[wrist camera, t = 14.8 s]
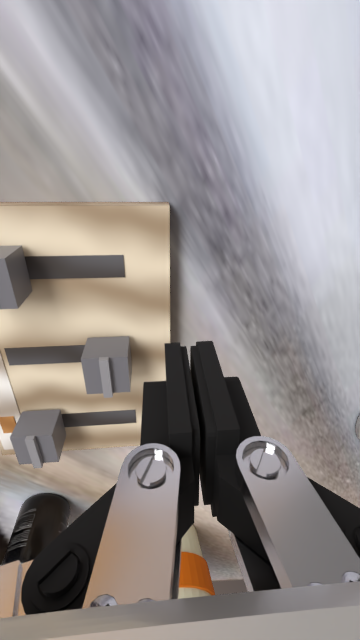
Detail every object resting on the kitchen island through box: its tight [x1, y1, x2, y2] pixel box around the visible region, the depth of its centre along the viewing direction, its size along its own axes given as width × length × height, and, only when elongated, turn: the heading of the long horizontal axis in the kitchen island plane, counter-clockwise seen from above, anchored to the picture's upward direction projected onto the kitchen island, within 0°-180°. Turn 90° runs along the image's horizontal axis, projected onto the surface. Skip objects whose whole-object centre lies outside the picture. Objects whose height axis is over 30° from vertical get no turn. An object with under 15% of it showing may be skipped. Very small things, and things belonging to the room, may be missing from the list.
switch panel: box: [0, 202, 170, 455], centre depth 31 cm, size 28×20×2 cm
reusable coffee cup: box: [178, 525, 215, 599], centre depth 45 cm, size 12×13×15 cm
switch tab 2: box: [10, 409, 66, 468], centre depth 33 cm, size 4×4×4 cm
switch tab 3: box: [81, 336, 132, 398], centre depth 29 cm, size 4×4×4 cm
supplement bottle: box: [1, 494, 70, 566], centre depth 40 cm, size 7×7×12 cm
